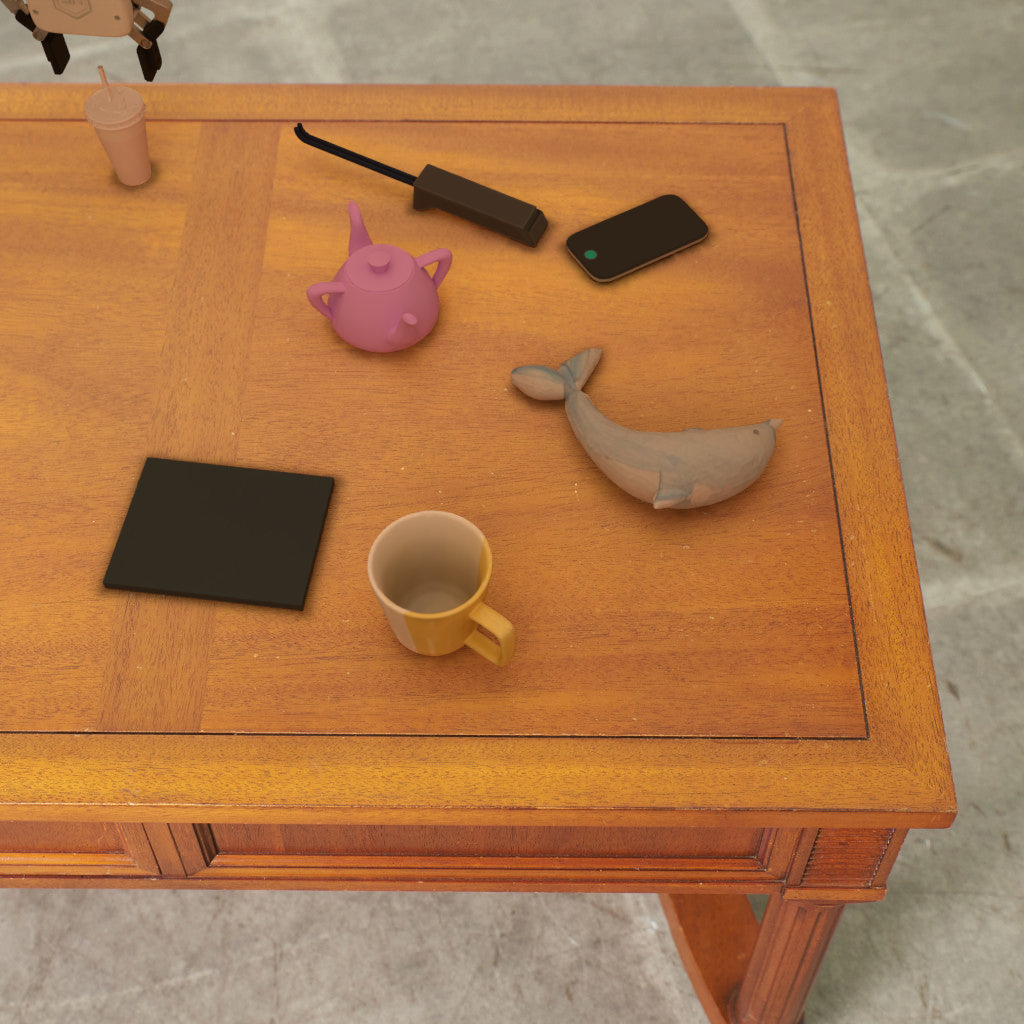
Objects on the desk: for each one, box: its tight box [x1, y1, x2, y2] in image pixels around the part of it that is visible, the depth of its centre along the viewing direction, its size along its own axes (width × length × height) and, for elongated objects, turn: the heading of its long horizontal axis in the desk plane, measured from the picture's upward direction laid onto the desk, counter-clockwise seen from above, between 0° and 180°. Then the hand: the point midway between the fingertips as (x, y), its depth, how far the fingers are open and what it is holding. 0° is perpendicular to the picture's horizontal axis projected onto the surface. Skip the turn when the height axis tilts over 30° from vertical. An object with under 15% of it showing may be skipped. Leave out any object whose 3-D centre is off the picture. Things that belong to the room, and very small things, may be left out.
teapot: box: [305, 200, 453, 354], centre depth 128 cm, size 12×14×9 cm
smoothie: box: [83, 64, 153, 187], centre depth 138 cm, size 6×6×14 cm
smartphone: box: [565, 194, 710, 283], centre depth 138 cm, size 8×1×15 cm
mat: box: [102, 456, 336, 612], centre depth 117 cm, size 18×14×1 cm
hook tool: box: [293, 122, 549, 248], centre depth 141 cm, size 4×4×30 cm
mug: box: [366, 510, 517, 668], centre depth 107 cm, size 14×10×10 cm
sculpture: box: [509, 347, 784, 510], centre depth 123 cm, size 18×8×25 cm
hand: (107, 69), depth 133 cm, fingers open, 9 cm apart
